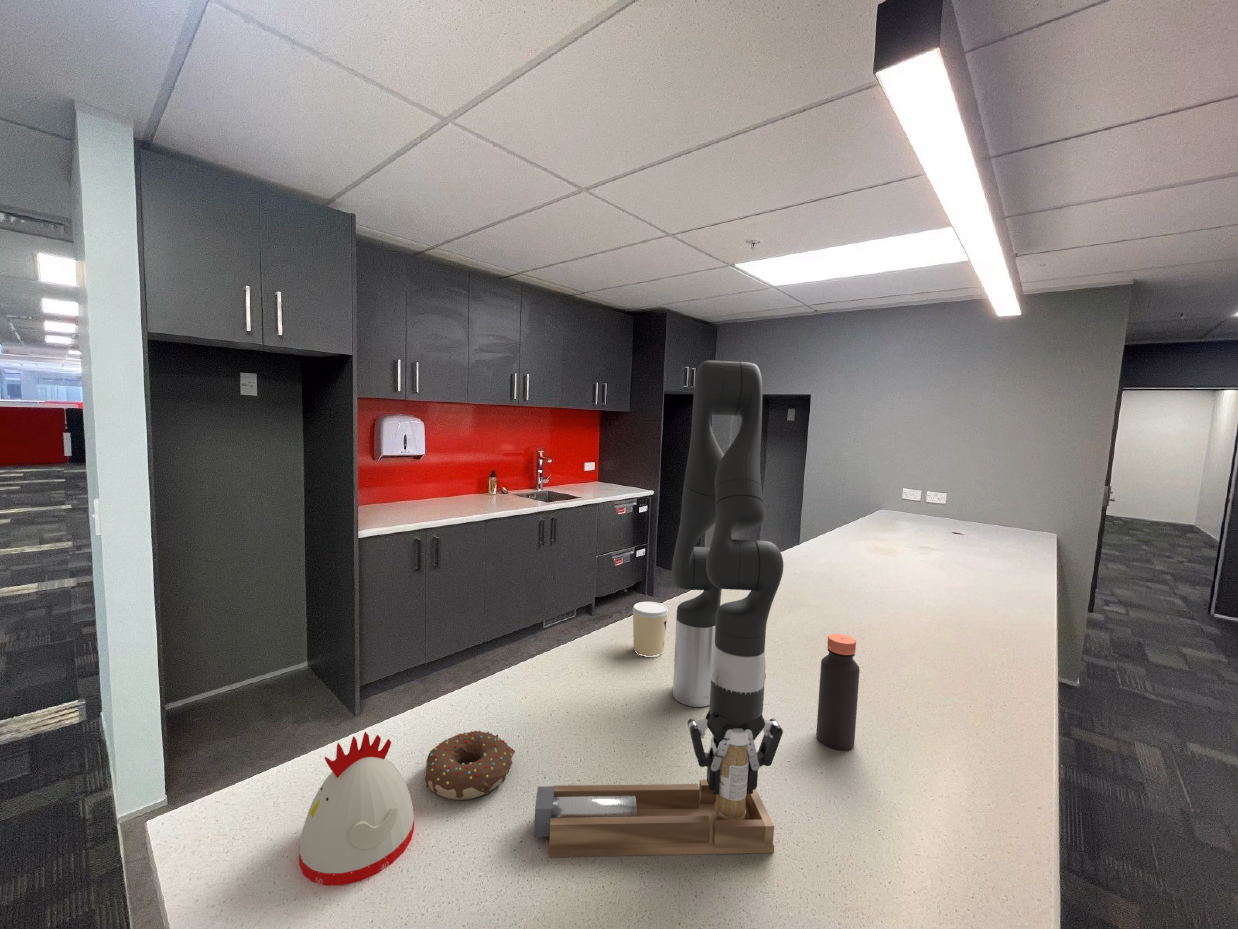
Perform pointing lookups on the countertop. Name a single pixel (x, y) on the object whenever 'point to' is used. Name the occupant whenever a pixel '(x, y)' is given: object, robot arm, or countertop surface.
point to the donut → (468, 765)
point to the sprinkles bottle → (733, 778)
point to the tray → (661, 824)
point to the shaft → (578, 808)
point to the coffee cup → (649, 627)
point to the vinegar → (838, 694)
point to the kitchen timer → (356, 817)
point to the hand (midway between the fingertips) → (731, 790)
